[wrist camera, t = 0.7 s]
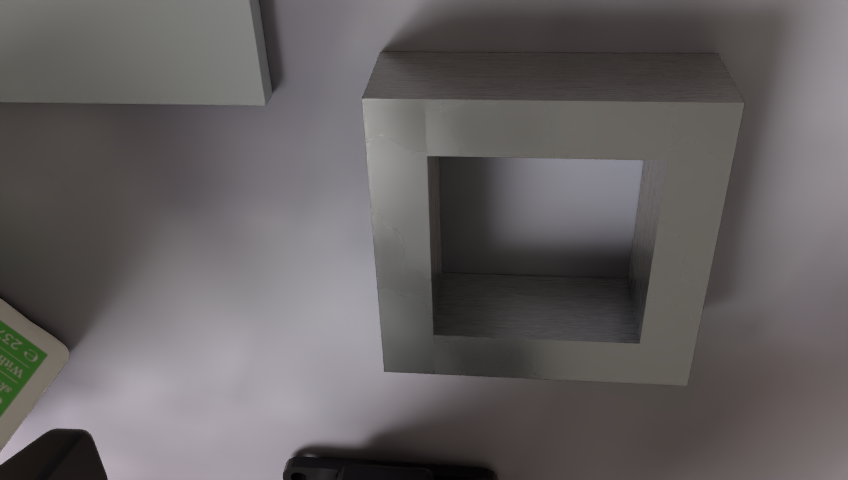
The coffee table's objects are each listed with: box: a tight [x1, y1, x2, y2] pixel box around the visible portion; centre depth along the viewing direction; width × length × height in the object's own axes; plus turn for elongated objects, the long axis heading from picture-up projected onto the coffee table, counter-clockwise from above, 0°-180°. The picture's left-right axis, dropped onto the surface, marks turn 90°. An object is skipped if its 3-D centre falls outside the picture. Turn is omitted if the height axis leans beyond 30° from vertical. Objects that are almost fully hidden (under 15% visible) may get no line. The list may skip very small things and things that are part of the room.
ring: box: [362, 52, 745, 386], centre depth 18 cm, size 7×7×2 cm
